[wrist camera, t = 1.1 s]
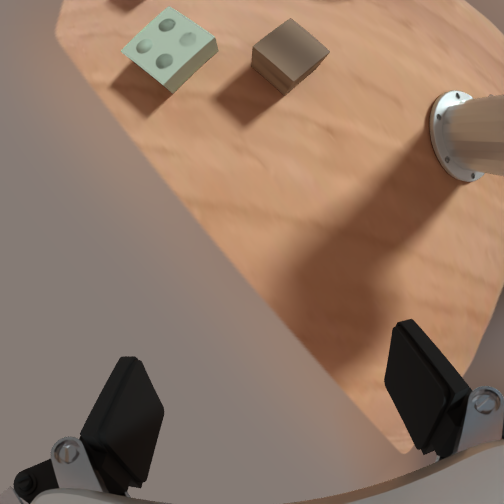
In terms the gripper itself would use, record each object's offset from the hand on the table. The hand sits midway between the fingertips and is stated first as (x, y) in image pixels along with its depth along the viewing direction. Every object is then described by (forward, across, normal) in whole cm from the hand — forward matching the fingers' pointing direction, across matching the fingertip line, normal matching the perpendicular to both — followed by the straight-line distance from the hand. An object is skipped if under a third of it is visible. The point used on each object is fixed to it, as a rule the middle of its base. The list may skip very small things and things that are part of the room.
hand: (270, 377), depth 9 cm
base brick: (+23, +6, -21) cm, 32 cm away
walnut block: (+23, -6, -17) cm, 30 cm away
